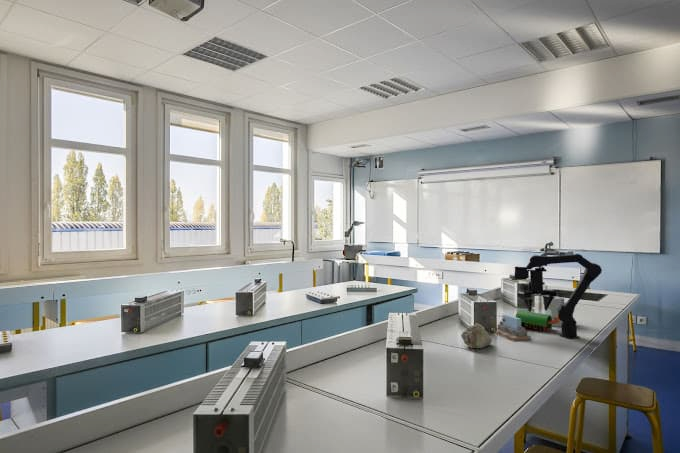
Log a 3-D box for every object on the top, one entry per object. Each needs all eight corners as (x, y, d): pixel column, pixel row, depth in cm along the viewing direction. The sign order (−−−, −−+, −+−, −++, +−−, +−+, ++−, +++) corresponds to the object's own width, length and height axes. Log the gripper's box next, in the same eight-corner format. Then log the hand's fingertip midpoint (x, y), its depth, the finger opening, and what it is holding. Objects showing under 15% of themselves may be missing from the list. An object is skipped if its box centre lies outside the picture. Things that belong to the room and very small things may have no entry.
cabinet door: (521, 335, 199) (520, 318, 199) (515, 335, 198) (515, 319, 198) (506, 329, 211) (506, 314, 211) (501, 329, 210) (500, 314, 210)
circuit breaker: (576, 325, 220) (575, 298, 220) (550, 326, 220) (549, 298, 221) (569, 322, 228) (568, 295, 228) (543, 323, 228) (542, 296, 228)
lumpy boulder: (499, 351, 185) (478, 345, 178) (479, 354, 193) (458, 349, 186) (496, 326, 190) (475, 319, 183) (476, 331, 198) (456, 324, 191)
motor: (514, 327, 218) (554, 333, 204) (515, 310, 219) (555, 315, 205) (521, 326, 225) (561, 332, 211) (522, 310, 226) (561, 315, 212)
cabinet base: (530, 339, 196) (530, 327, 197) (512, 341, 194) (512, 329, 195) (506, 329, 216) (505, 319, 216) (489, 331, 214) (488, 320, 214)
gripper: (541, 277, 214) (542, 306, 214) (510, 279, 211) (511, 309, 210) (557, 279, 203) (558, 310, 203) (524, 281, 200) (525, 313, 199)
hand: (537, 310), depth 204 cm, fingers open, 9 cm apart
